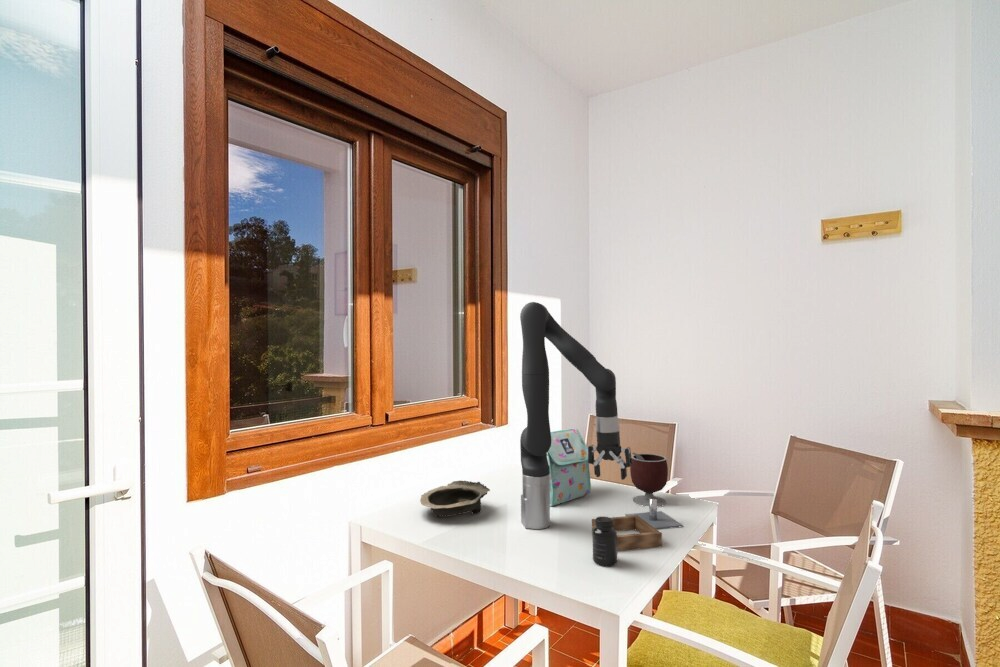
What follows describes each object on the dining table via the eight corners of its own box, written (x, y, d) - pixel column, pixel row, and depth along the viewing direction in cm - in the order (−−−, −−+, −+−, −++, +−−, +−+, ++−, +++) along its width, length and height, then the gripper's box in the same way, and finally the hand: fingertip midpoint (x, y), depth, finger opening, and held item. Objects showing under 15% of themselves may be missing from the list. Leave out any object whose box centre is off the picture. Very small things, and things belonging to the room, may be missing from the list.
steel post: (651, 520, 174) (651, 500, 174) (648, 518, 177) (647, 498, 177) (658, 520, 175) (658, 499, 175) (654, 517, 177) (654, 497, 177)
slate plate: (644, 530, 167) (644, 528, 167) (625, 515, 181) (625, 514, 181) (683, 526, 170) (682, 525, 170) (661, 512, 184) (661, 511, 184)
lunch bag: (554, 509, 189) (553, 436, 189) (524, 498, 201) (523, 430, 202) (594, 496, 203) (594, 429, 203) (564, 487, 216) (564, 423, 216)
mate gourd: (647, 494, 206) (647, 444, 206) (676, 503, 194) (675, 450, 194) (619, 501, 198) (619, 449, 198) (647, 511, 186) (647, 456, 186)
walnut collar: (612, 551, 151) (612, 537, 151) (591, 531, 167) (591, 519, 167) (661, 546, 154) (661, 533, 155) (637, 527, 170) (637, 515, 170)
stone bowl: (499, 506, 192) (498, 481, 192) (468, 534, 170) (467, 507, 169) (443, 496, 203) (442, 474, 202) (406, 522, 180) (405, 496, 180)
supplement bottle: (599, 554, 149) (599, 513, 149) (621, 560, 145) (621, 518, 145) (588, 562, 144) (587, 519, 144) (610, 569, 140) (609, 525, 140)
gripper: (583, 430, 170) (586, 479, 170) (625, 432, 162) (628, 483, 163) (591, 426, 176) (594, 472, 176) (632, 427, 169) (635, 476, 169)
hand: (610, 477), depth 170 cm, fingers open, 8 cm apart
